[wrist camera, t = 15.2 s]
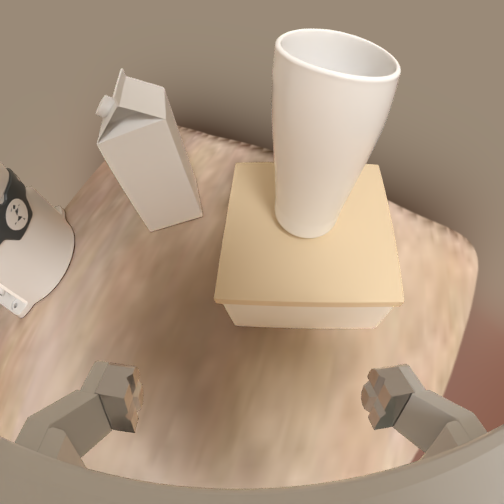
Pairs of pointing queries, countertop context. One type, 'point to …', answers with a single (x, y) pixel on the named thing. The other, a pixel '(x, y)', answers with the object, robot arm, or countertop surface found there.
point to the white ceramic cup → (325, 122)
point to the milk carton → (148, 153)
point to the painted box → (307, 259)
